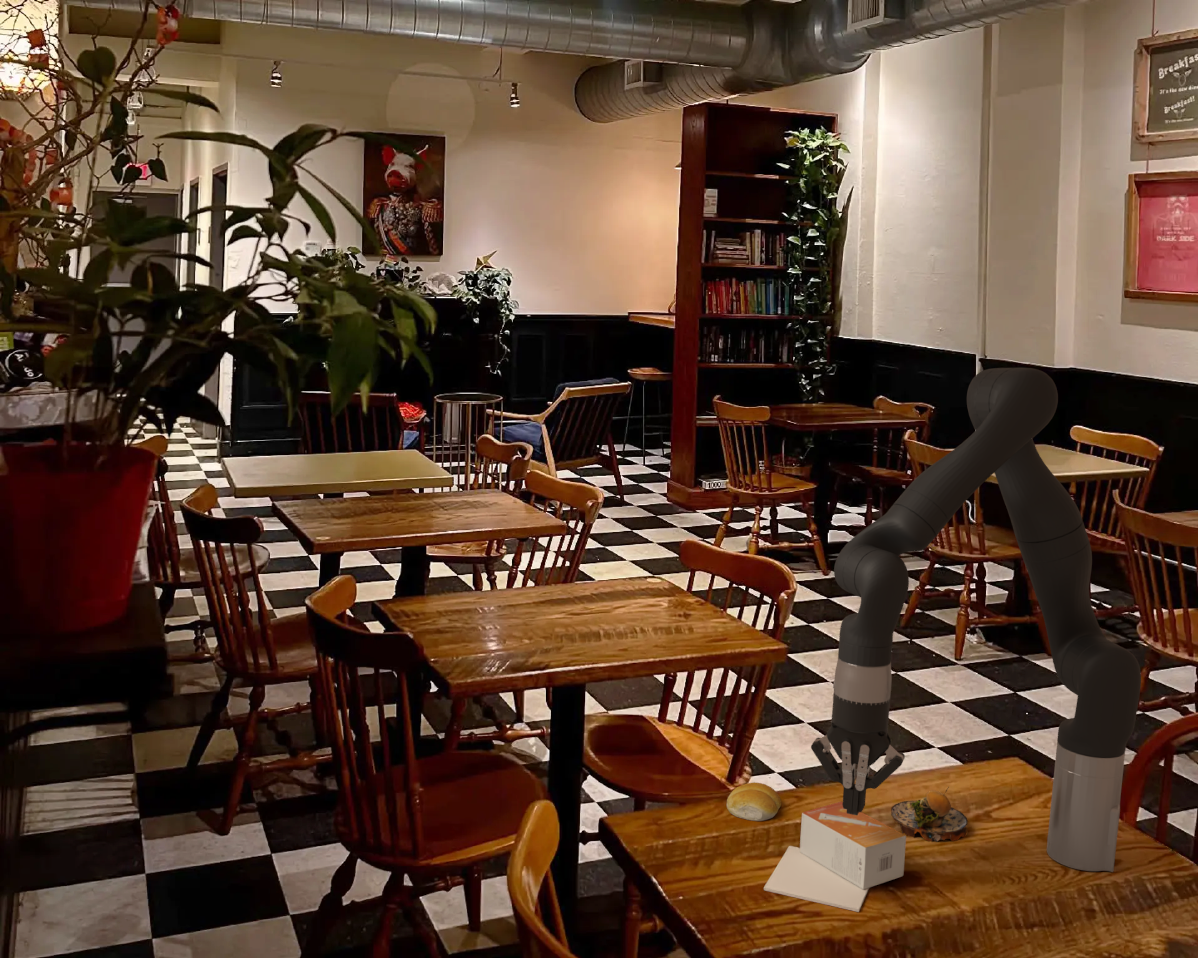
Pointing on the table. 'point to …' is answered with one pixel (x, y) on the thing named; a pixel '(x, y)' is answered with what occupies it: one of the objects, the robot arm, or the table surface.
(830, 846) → the small box
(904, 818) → the burger
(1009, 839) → the table surface
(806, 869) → the mat
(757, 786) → the bread roll
